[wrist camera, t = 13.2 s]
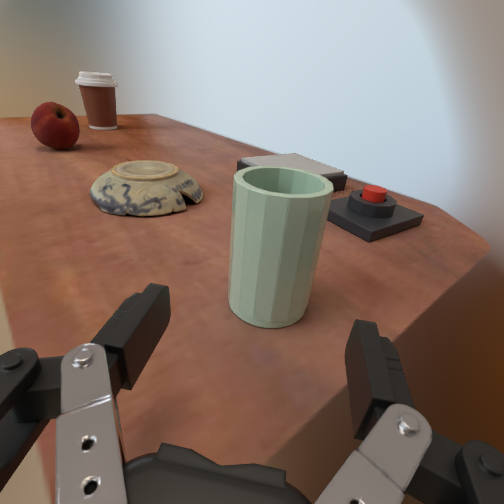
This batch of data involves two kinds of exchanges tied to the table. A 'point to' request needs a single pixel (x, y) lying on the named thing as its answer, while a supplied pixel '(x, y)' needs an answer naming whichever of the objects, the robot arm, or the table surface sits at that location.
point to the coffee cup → (98, 99)
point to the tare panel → (371, 216)
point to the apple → (55, 126)
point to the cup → (275, 242)
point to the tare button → (374, 193)
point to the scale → (298, 166)
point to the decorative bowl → (144, 189)
